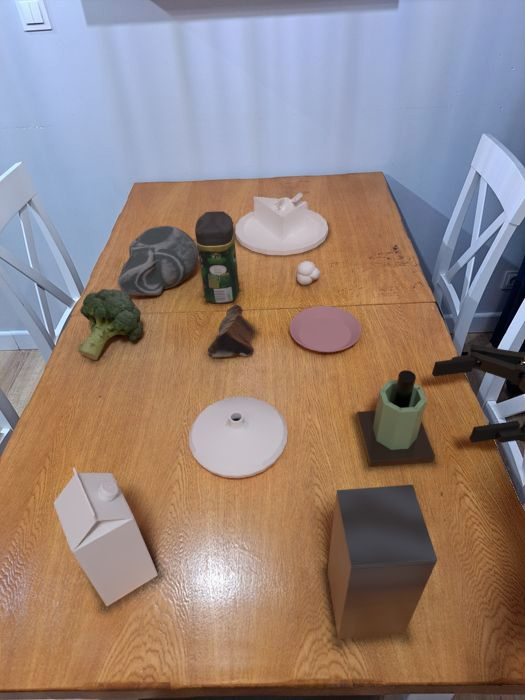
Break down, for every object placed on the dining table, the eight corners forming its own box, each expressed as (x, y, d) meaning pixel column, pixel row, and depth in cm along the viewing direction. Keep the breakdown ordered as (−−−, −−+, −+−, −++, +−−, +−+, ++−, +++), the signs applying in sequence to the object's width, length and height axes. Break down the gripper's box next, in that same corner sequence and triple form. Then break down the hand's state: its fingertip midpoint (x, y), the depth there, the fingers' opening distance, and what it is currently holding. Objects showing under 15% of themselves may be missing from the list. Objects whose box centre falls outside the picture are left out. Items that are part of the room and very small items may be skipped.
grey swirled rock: (114, 305, 111) (152, 258, 125) (179, 311, 107) (210, 262, 121) (98, 262, 103) (140, 217, 118) (167, 267, 99) (202, 220, 113)
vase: (296, 416, 84) (296, 388, 79) (275, 496, 72) (274, 468, 68) (209, 401, 87) (204, 373, 82) (176, 476, 76) (168, 448, 71)
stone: (200, 345, 92) (217, 298, 103) (210, 367, 96) (225, 319, 107) (246, 341, 90) (258, 293, 101) (253, 363, 94) (264, 314, 104)
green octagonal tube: (420, 448, 76) (431, 409, 70) (379, 450, 76) (386, 413, 70) (408, 416, 81) (418, 378, 75) (370, 419, 81) (376, 381, 75)
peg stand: (433, 462, 76) (454, 399, 66) (369, 467, 76) (380, 404, 66) (414, 413, 83) (431, 350, 73) (356, 417, 83) (365, 354, 73)
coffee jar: (206, 281, 115) (196, 208, 103) (240, 280, 115) (233, 206, 103) (202, 306, 108) (191, 230, 96) (238, 305, 108) (231, 229, 95)
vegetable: (54, 340, 98) (95, 279, 102) (109, 373, 103) (147, 314, 107) (60, 338, 87) (106, 270, 91) (122, 375, 92) (163, 309, 96)
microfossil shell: (295, 277, 115) (295, 257, 111) (318, 276, 115) (319, 256, 111) (297, 288, 112) (297, 268, 108) (320, 287, 112) (321, 266, 108)
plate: (275, 336, 99) (274, 329, 98) (319, 305, 107) (319, 297, 105) (330, 369, 92) (331, 361, 90) (374, 332, 99) (375, 325, 98)
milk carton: (107, 608, 62) (59, 534, 49) (88, 561, 66) (41, 483, 54) (158, 576, 64) (126, 498, 52) (137, 533, 69) (103, 452, 56)
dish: (345, 225, 133) (348, 184, 126) (291, 265, 119) (291, 223, 111) (273, 202, 145) (272, 164, 137) (216, 237, 131) (212, 197, 123)
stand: (404, 634, 58) (437, 559, 45) (337, 639, 58) (351, 566, 45) (387, 567, 64) (412, 484, 51) (327, 572, 64) (336, 489, 51)
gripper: (626, 461, 70) (484, 483, 68) (530, 347, 88) (417, 362, 87) (652, 428, 65) (500, 451, 63) (545, 314, 83) (425, 329, 82)
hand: (452, 399), depth 75 cm, fingers open, 13 cm apart
